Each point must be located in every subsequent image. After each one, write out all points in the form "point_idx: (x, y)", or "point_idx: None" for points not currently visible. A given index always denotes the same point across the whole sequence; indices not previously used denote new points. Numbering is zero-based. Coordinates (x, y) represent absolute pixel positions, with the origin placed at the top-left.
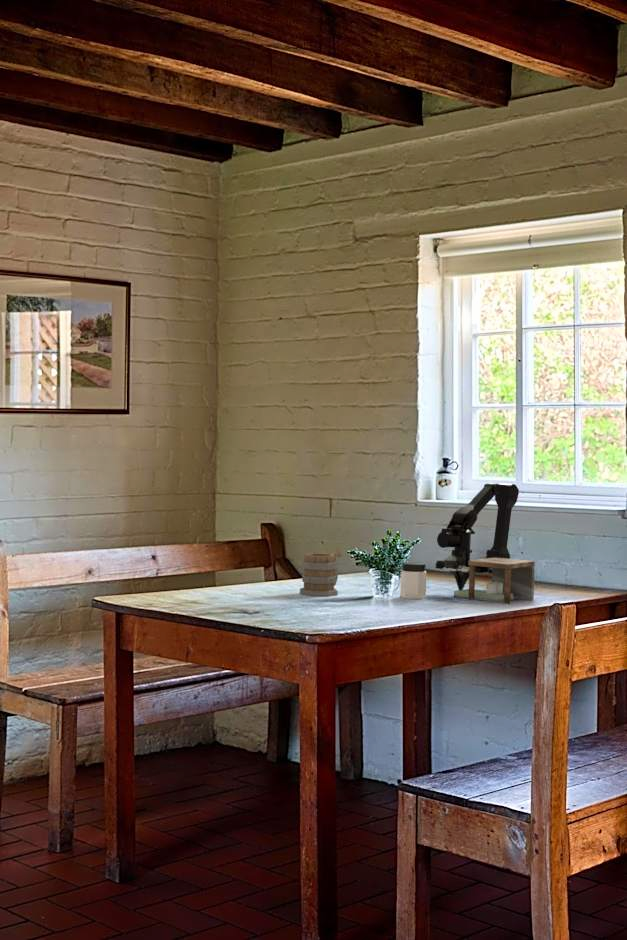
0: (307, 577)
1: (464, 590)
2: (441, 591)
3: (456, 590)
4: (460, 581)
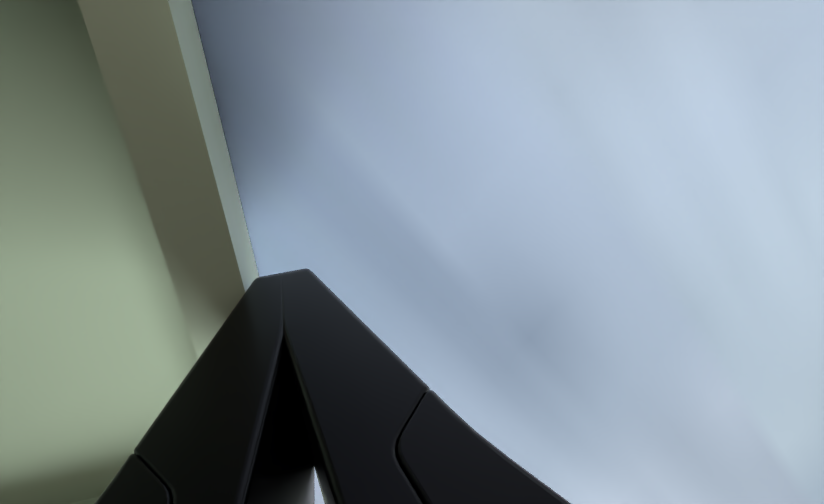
0: None
1: (200, 352)
2: (813, 306)
3: (169, 39)
4: (223, 441)
